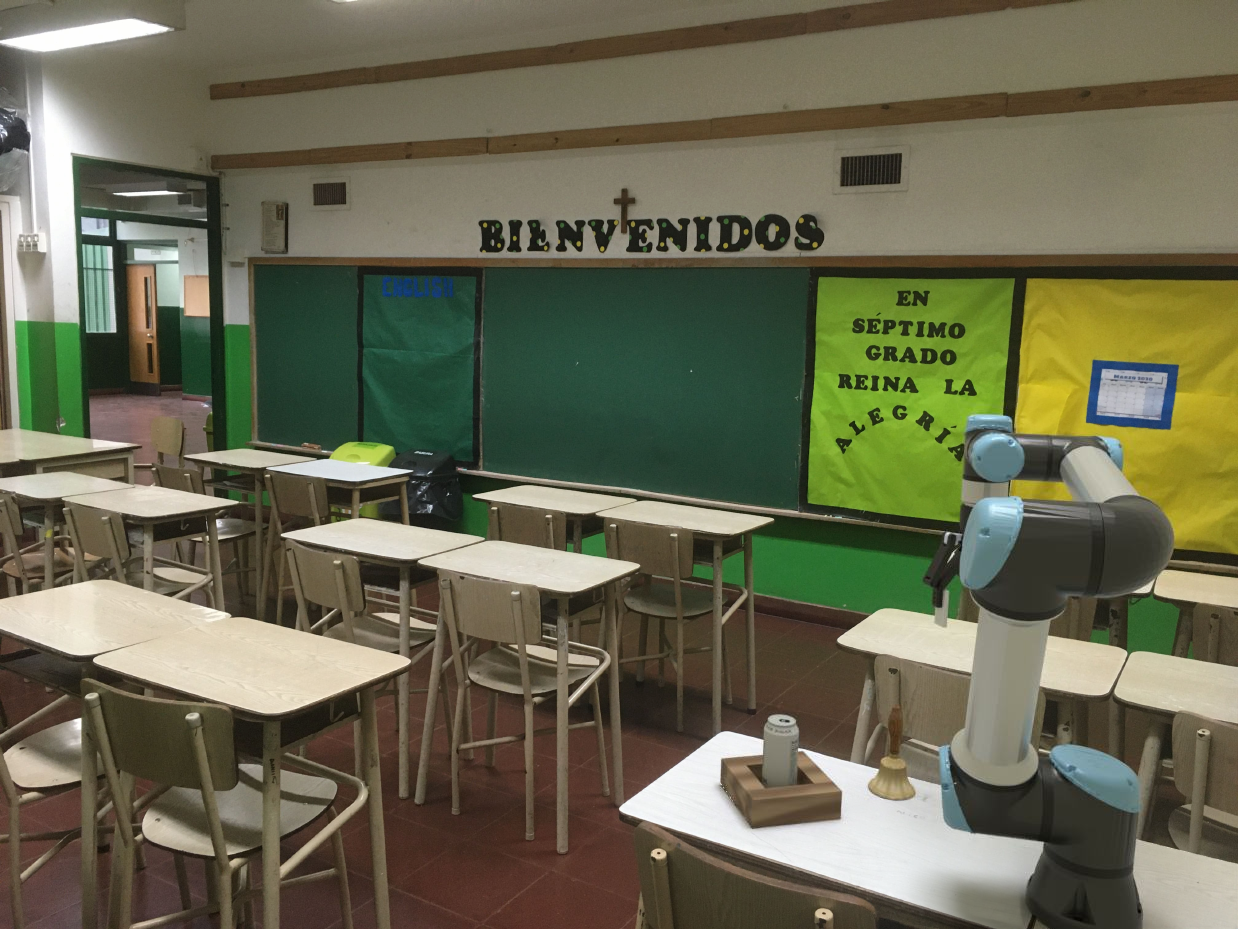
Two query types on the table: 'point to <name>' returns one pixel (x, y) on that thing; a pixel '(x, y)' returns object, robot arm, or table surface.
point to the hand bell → (893, 765)
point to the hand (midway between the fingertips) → (975, 623)
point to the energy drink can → (780, 752)
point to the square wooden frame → (780, 793)
